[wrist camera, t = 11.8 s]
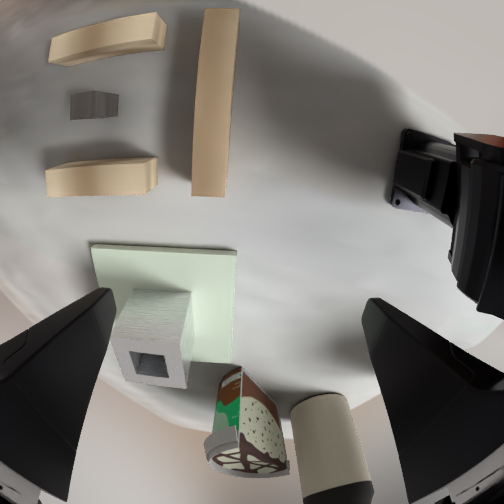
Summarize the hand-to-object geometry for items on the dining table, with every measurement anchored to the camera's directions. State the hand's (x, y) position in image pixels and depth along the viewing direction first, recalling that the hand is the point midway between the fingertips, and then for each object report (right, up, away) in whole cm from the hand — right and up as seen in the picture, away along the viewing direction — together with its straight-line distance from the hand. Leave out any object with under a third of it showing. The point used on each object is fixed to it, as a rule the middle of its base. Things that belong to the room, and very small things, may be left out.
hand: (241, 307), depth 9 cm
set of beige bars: (-7, +12, +7) cm, 16 cm away
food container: (-1, -15, +21) cm, 26 cm away
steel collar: (-7, -3, +14) cm, 16 cm away
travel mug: (+9, -19, +24) cm, 32 cm away
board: (-7, -3, +15) cm, 17 cm away
